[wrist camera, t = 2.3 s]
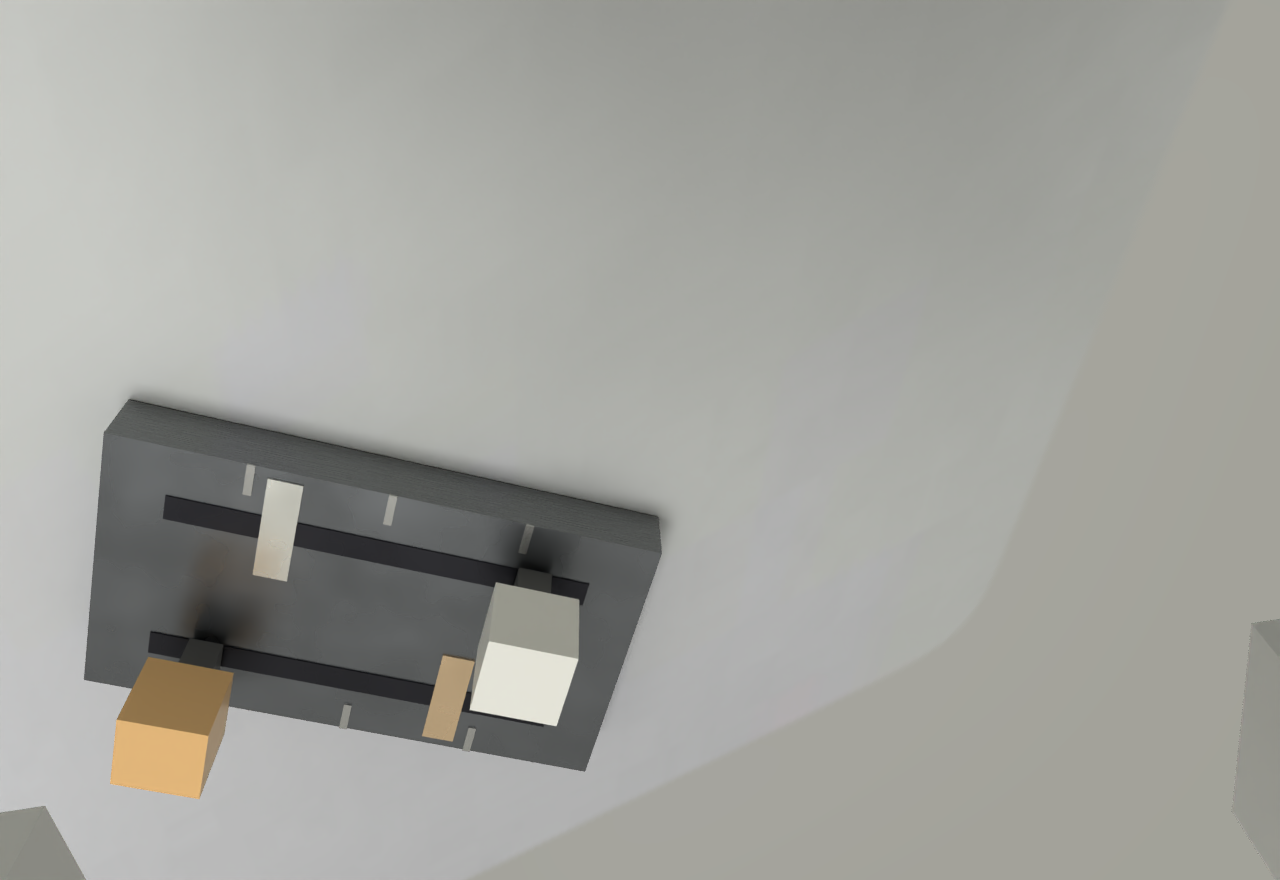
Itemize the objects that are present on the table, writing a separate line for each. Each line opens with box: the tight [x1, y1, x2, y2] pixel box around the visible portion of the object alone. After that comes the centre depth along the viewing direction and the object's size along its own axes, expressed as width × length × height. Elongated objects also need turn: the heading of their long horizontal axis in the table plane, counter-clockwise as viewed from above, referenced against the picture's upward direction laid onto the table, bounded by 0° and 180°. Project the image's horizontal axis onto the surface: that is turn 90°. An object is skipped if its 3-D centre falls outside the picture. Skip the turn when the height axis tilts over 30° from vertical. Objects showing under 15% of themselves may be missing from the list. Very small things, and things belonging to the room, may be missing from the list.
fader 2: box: [470, 567, 579, 726], centre depth 34 cm, size 2×2×4 cm
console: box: [84, 400, 662, 771], centre depth 37 cm, size 16×9×2 cm, turn 74°
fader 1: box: [110, 638, 234, 799], centre depth 34 cm, size 2×2×4 cm
